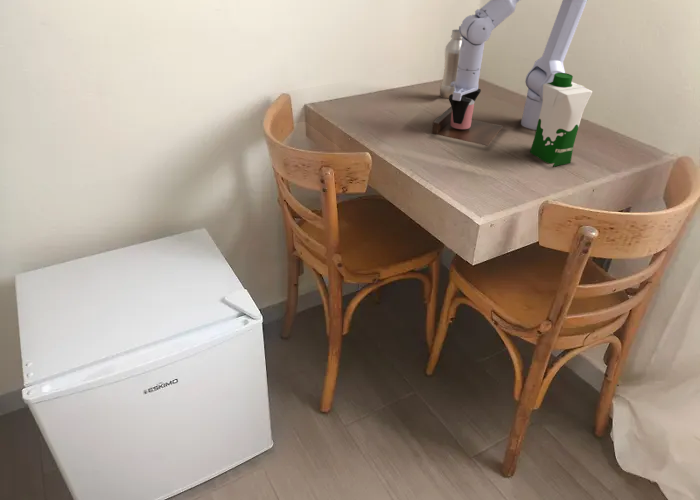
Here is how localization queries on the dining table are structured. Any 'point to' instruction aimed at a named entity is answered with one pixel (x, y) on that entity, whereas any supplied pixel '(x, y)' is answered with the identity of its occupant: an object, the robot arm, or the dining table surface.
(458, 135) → the serving board
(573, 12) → the robot arm
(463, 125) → the yogurt pot
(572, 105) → the milk carton
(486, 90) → the dining table surface
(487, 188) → the dining table surface
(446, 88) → the plastic bottle
